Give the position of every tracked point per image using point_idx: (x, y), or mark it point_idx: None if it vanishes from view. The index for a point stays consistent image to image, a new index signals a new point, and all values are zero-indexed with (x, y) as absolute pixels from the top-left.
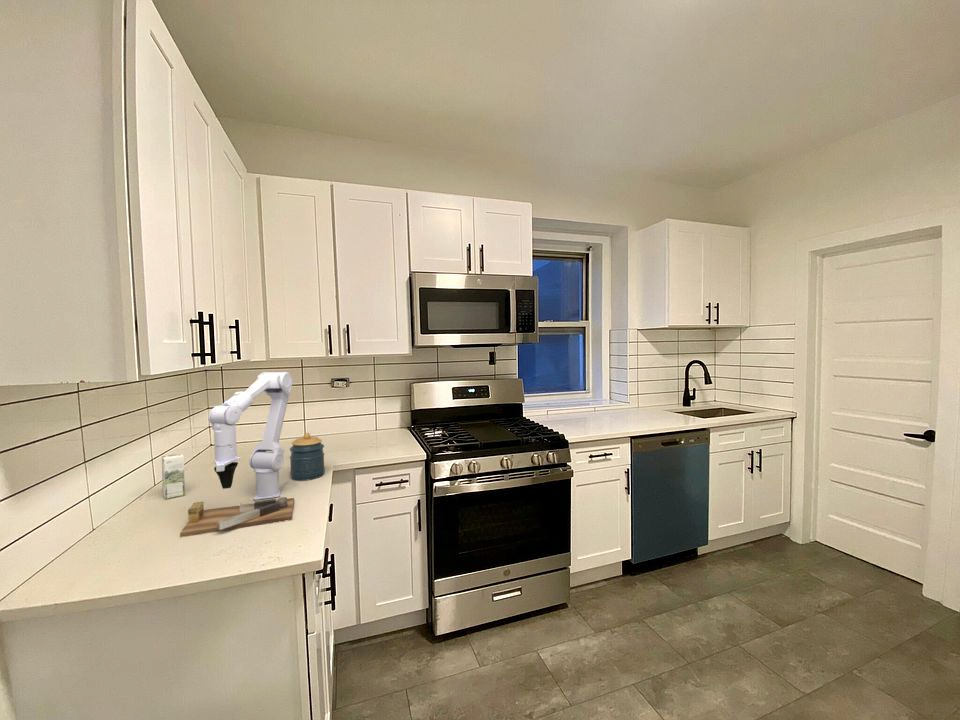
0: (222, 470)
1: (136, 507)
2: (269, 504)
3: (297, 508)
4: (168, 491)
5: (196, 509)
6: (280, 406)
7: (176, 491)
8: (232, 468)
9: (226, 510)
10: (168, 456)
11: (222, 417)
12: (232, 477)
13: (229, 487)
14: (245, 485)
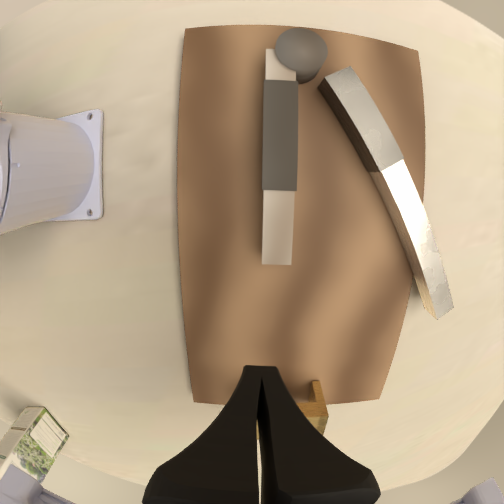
0: (489, 485)
1: (110, 469)
2: (348, 111)
3: (292, 20)
4: (57, 443)
5: (327, 418)
6: None
7: (49, 429)
8: (376, 484)
9: (230, 313)
10: None
11: None
12: (255, 408)
13: (278, 372)
14: None
